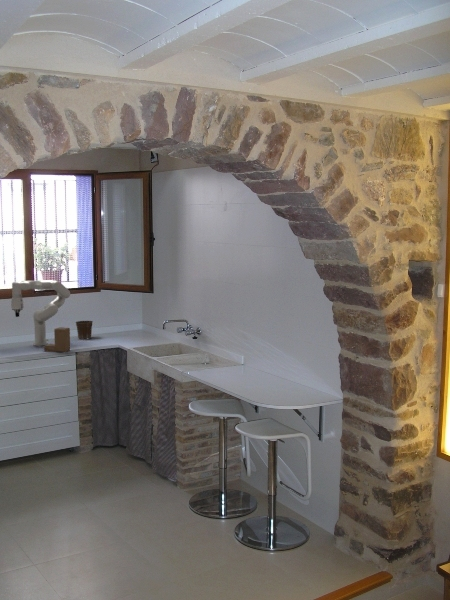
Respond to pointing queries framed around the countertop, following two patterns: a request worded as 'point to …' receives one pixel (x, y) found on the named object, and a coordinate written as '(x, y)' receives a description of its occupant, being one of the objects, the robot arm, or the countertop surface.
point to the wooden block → (62, 339)
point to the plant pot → (84, 329)
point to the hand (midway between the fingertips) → (17, 316)
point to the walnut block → (49, 347)
